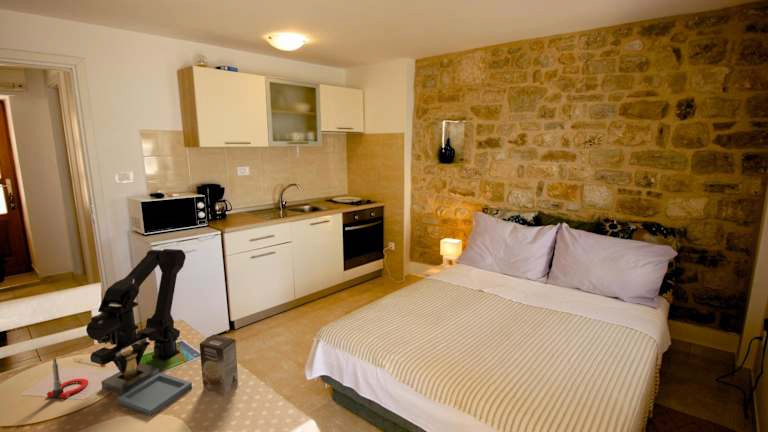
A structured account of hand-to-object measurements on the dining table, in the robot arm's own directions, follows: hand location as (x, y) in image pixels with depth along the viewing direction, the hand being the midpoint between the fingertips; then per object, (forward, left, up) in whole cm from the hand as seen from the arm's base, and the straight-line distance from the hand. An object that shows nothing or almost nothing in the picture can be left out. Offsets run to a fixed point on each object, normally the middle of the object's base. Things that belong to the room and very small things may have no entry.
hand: (129, 369), depth 124 cm
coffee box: (-9, +29, -5) cm, 31 cm away
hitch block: (0, 0, -4) cm, 4 cm away
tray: (+2, +14, -4) cm, 15 cm away
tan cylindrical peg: (0, 0, -4) cm, 4 cm away
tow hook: (+10, -14, -5) cm, 18 cm away
